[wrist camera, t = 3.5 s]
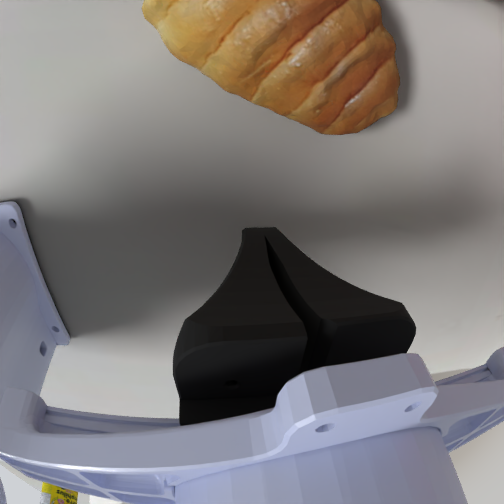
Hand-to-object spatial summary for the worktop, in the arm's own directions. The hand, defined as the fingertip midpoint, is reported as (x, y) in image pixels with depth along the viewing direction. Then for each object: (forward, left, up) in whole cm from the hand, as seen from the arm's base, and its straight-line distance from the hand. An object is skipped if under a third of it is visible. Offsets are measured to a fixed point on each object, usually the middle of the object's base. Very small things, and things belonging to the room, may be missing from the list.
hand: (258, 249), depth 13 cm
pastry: (+9, 0, -2) cm, 9 cm away
